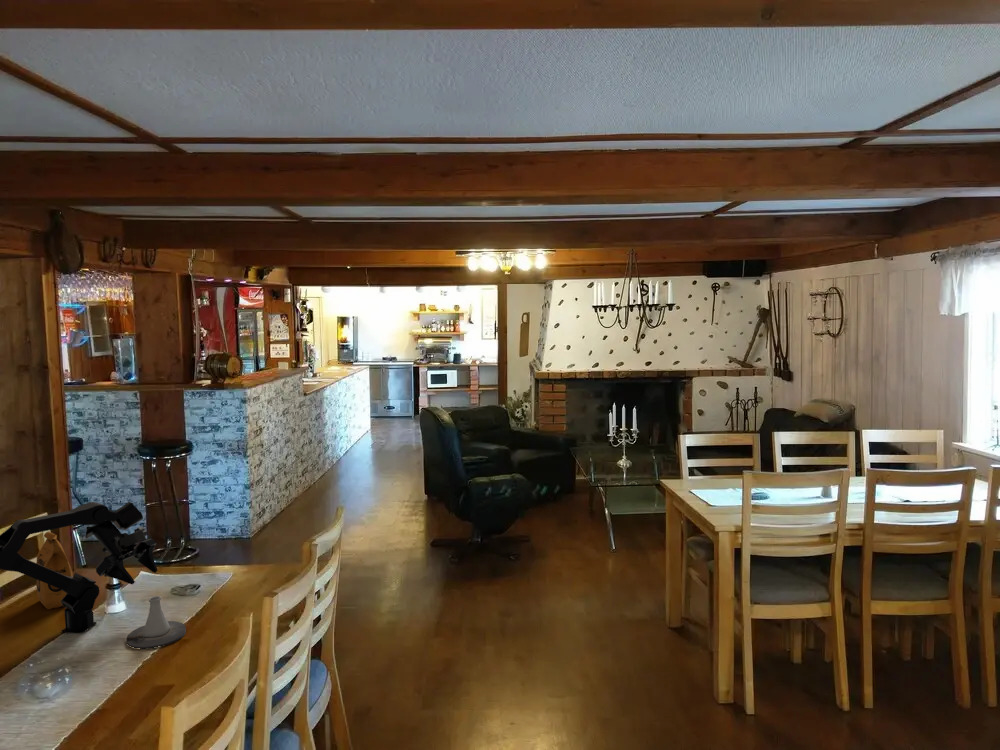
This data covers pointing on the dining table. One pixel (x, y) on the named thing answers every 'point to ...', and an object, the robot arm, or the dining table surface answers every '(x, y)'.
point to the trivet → (171, 636)
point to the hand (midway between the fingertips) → (145, 577)
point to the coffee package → (54, 560)
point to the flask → (155, 619)
